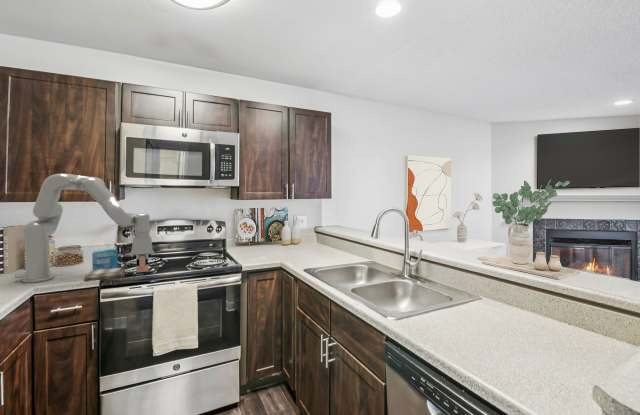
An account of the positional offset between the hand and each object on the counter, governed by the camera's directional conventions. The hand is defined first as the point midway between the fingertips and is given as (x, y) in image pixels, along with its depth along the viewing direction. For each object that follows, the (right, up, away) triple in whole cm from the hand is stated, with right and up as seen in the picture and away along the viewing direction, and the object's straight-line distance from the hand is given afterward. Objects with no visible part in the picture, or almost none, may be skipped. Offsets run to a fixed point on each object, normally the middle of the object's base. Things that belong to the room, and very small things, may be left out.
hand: (142, 265), depth 182 cm
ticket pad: (-15, -5, -9) cm, 18 cm away
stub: (0, -3, 0) cm, 3 cm away
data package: (-26, -4, +6) cm, 27 cm away
